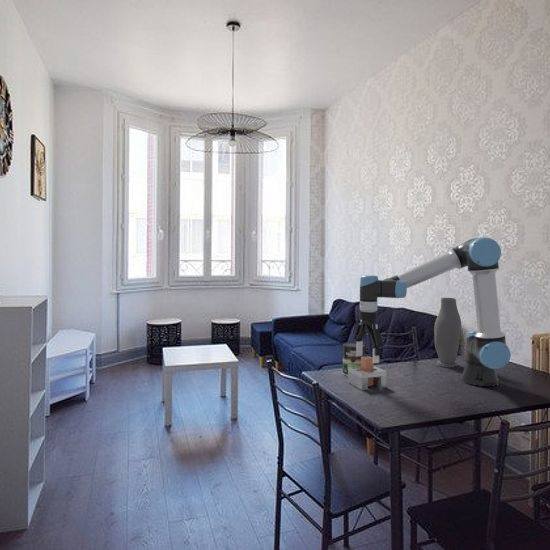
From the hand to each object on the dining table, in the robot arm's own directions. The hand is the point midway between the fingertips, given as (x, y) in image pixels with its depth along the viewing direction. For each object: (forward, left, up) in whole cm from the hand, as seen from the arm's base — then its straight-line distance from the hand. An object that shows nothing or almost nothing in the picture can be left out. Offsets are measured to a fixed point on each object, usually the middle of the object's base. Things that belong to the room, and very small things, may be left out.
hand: (367, 359), depth 192 cm
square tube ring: (0, 0, -11) cm, 11 cm away
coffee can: (-3, -17, -11) cm, 21 cm away
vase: (-58, -17, -11) cm, 62 cm away
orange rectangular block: (0, 0, -11) cm, 11 cm away
